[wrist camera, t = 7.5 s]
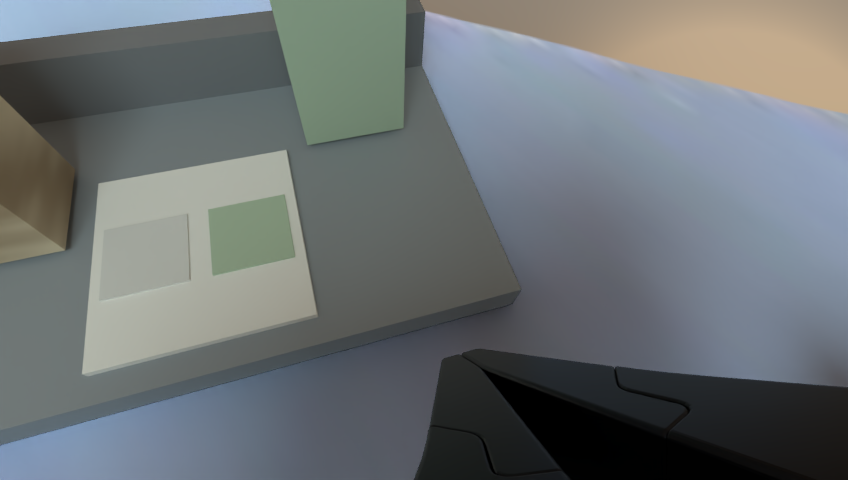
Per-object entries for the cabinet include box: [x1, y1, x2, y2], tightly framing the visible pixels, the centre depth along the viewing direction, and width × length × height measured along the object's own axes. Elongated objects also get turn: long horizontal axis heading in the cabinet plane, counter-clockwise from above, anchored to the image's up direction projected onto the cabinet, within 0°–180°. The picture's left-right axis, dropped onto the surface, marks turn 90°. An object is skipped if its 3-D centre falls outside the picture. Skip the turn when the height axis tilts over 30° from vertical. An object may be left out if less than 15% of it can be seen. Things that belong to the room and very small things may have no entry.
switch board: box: [0, 0, 521, 445], centre depth 17 cm, size 15×23×4 cm, turn 107°
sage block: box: [270, 0, 406, 145], centre depth 17 cm, size 4×5×9 cm
